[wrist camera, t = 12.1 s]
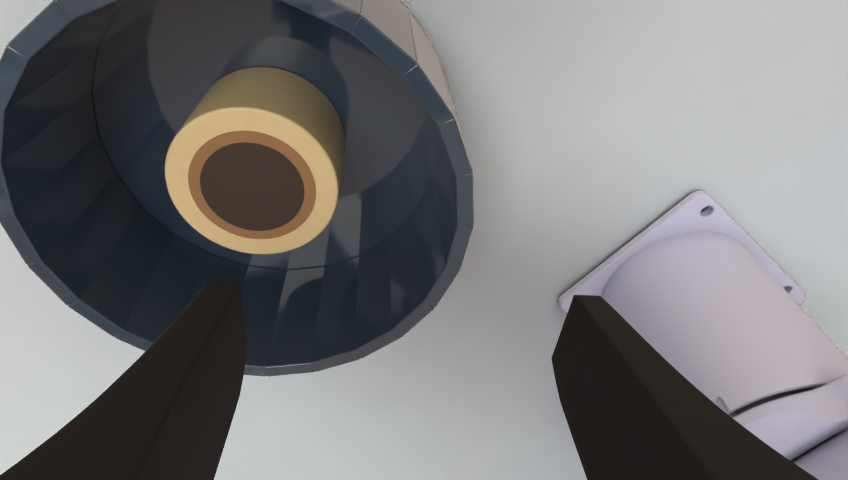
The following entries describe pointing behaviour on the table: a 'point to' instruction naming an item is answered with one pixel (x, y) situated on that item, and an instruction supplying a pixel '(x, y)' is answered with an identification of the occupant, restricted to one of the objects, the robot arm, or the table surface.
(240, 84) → the tape roll
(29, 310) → the table surface
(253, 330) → the dark round bowl
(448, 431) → the table surface
